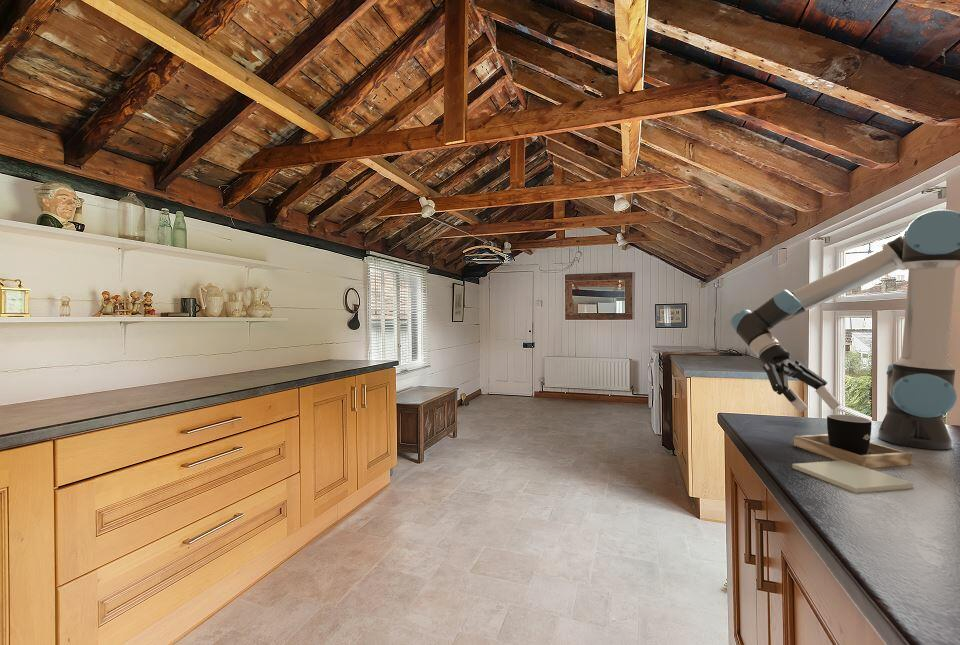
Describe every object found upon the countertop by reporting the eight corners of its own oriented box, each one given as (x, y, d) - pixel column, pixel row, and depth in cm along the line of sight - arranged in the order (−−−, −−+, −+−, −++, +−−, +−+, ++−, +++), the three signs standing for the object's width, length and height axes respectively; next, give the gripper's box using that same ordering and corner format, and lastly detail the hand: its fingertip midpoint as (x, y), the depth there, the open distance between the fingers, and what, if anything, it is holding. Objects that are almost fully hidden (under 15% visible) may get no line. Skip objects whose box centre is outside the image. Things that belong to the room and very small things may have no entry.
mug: (868, 464, 108) (868, 424, 107) (823, 455, 114) (823, 417, 114) (874, 453, 116) (875, 416, 115) (832, 446, 122) (832, 410, 122)
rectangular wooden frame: (839, 442, 125) (839, 433, 125) (912, 464, 107) (912, 453, 107) (793, 445, 123) (794, 436, 123) (861, 468, 105) (861, 457, 105)
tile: (843, 464, 108) (843, 460, 108) (913, 488, 93) (913, 483, 93) (792, 467, 105) (792, 463, 105) (855, 493, 90) (855, 488, 90)
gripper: (788, 357, 141) (838, 412, 128) (732, 360, 133) (779, 419, 119) (805, 342, 136) (860, 398, 123) (748, 344, 128) (800, 404, 114)
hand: (820, 408), depth 121 cm, fingers open, 13 cm apart
